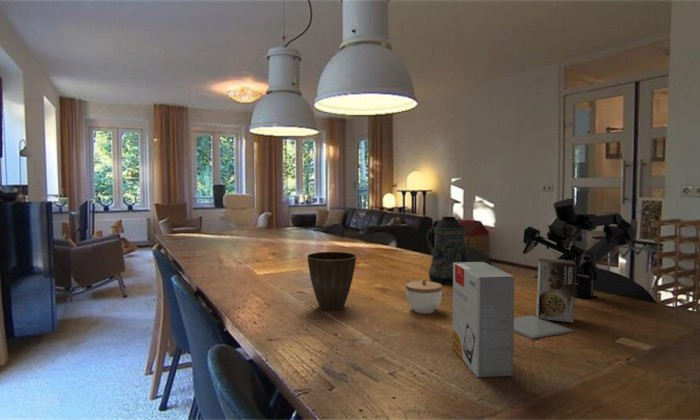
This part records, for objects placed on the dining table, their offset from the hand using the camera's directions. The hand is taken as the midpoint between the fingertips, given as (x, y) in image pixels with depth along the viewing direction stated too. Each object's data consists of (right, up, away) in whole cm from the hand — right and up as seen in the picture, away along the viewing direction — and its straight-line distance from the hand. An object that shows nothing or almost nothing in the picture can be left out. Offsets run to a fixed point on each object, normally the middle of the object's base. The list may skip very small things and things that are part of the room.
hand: (536, 259), depth 132 cm
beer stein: (-19, -13, +38) cm, 45 cm away
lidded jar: (-35, -15, -2) cm, 38 cm away
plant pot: (-62, -15, +2) cm, 64 cm away
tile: (-9, -16, -18) cm, 26 cm away
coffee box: (0, -15, -11) cm, 19 cm away
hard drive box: (-29, -17, -40) cm, 53 cm away
